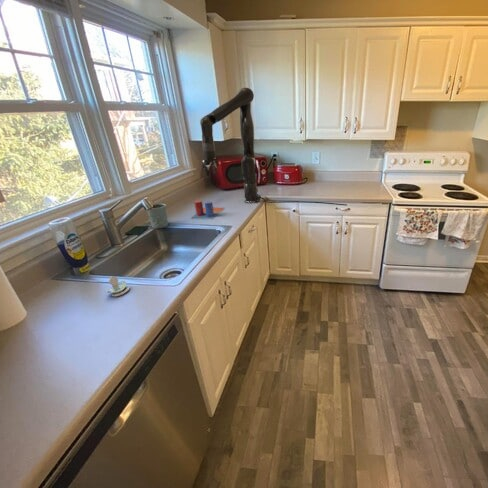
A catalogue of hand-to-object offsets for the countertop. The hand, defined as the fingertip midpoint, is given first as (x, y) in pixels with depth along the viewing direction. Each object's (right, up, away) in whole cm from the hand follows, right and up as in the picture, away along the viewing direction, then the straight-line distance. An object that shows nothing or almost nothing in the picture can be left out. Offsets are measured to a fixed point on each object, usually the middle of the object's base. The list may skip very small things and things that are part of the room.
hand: (211, 174), depth 192 cm
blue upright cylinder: (+4, -30, -13) cm, 33 cm away
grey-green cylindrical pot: (-20, -37, -29) cm, 51 cm away
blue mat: (0, -30, -13) cm, 32 cm away
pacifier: (-2, -66, -90) cm, 111 cm away
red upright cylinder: (-3, -29, -12) cm, 31 cm away
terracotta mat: (+1, -24, -1) cm, 24 cm away
